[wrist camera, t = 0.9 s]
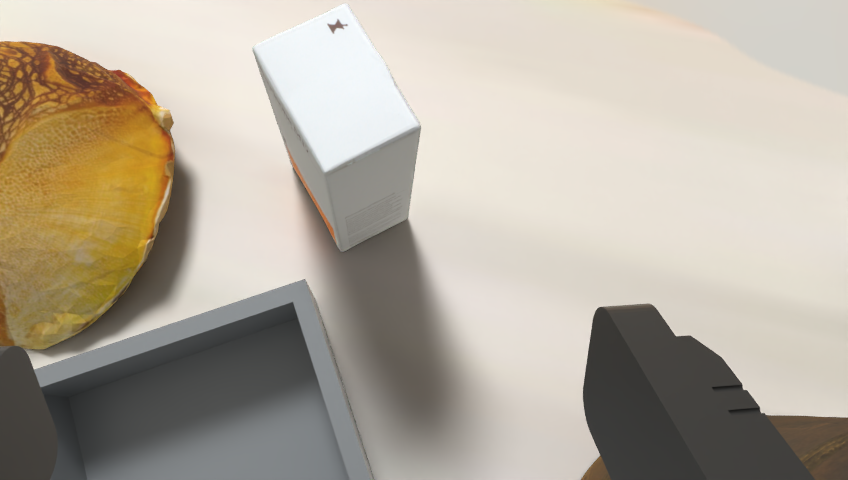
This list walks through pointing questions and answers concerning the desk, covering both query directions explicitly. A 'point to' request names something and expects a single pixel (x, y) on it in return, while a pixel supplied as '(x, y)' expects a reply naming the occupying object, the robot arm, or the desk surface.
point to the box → (210, 400)
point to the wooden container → (795, 446)
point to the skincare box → (342, 123)
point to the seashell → (74, 189)
